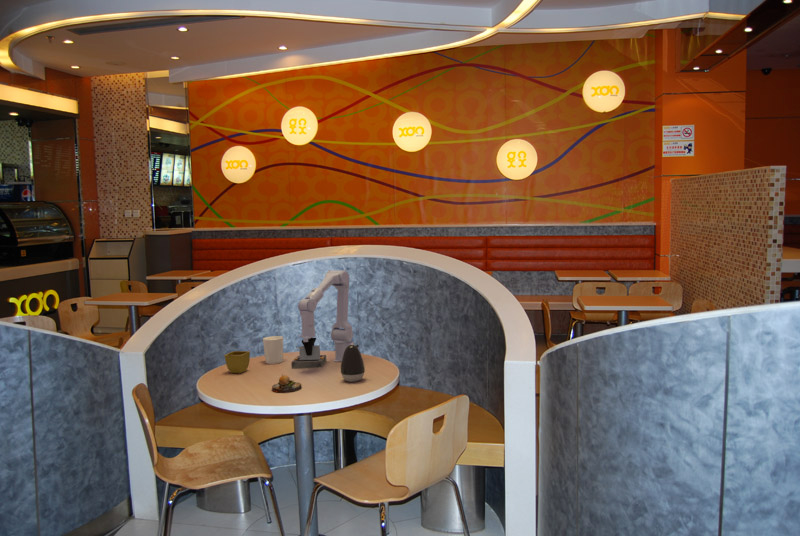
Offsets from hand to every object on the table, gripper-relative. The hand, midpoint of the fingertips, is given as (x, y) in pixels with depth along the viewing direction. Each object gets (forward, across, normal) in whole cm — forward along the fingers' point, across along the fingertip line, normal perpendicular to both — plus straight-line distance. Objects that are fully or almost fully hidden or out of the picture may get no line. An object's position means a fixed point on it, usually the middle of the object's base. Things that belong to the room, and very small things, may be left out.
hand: (309, 354), depth 280 cm
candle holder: (+8, -21, -22) cm, 31 cm away
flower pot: (+8, -2, -34) cm, 35 cm away
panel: (+2, 0, 0) cm, 2 cm away
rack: (+8, -13, -3) cm, 15 cm away
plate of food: (+8, +30, -4) cm, 31 cm away
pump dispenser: (+8, +19, +22) cm, 30 cm away
